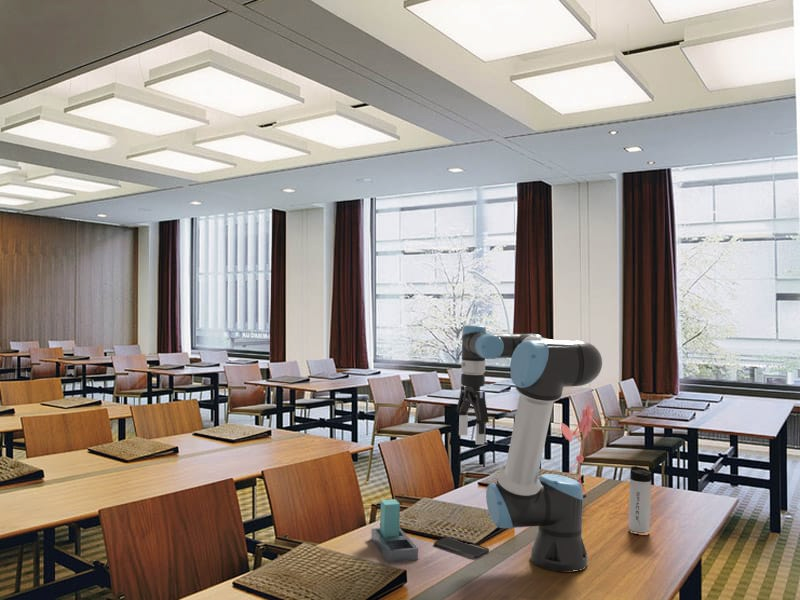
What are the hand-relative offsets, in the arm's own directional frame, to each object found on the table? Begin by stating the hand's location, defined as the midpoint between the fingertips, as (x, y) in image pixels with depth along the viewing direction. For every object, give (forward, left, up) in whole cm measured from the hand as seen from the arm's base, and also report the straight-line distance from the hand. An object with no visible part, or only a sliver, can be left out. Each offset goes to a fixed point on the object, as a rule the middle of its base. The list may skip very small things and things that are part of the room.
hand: (471, 439), depth 214 cm
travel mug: (-20, -49, -27) cm, 59 cm away
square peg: (-11, +30, -27) cm, 42 cm away
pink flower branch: (+13, -51, -27) cm, 59 cm away
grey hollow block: (-16, +30, -27) cm, 43 cm away
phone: (-20, +11, -27) cm, 36 cm away
